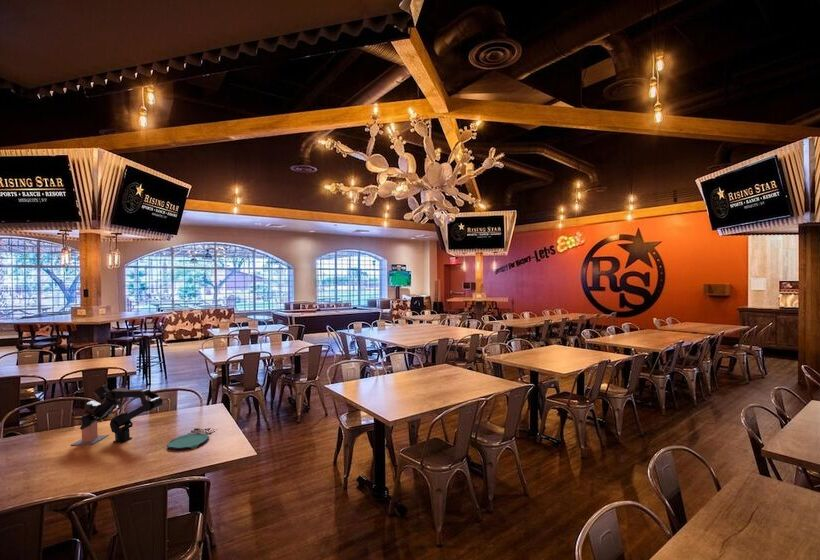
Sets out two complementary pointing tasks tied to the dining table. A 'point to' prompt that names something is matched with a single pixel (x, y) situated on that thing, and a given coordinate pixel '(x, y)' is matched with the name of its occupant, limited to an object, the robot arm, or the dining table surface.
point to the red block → (90, 433)
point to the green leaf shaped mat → (189, 440)
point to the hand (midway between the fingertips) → (87, 425)
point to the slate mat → (90, 441)
